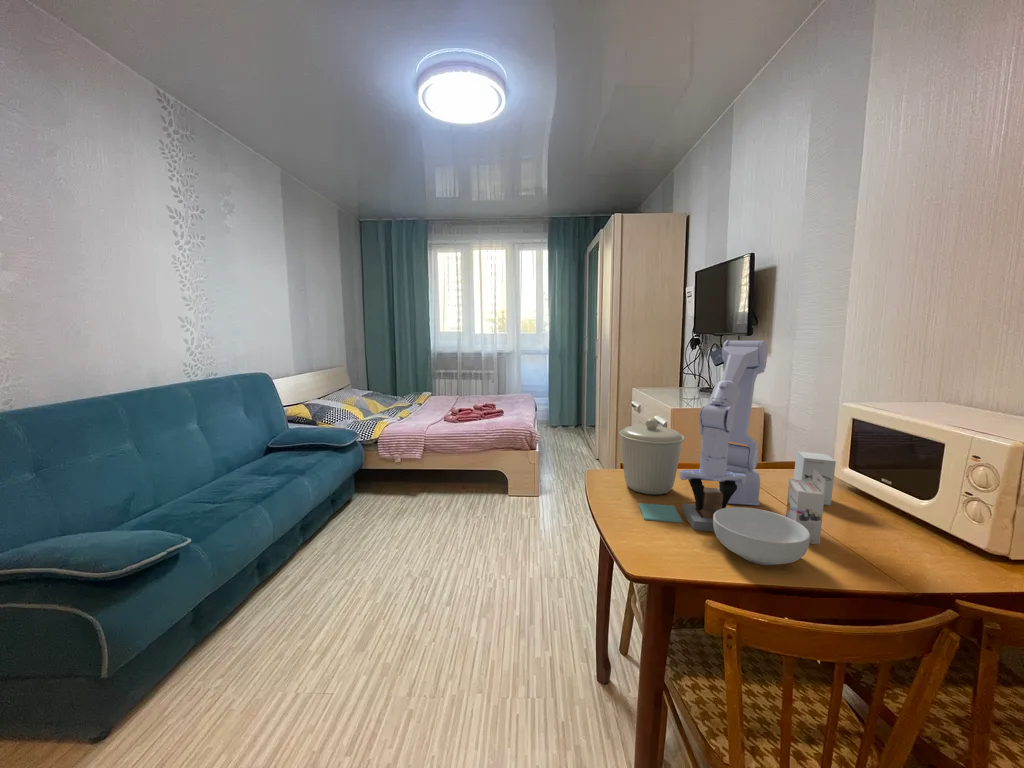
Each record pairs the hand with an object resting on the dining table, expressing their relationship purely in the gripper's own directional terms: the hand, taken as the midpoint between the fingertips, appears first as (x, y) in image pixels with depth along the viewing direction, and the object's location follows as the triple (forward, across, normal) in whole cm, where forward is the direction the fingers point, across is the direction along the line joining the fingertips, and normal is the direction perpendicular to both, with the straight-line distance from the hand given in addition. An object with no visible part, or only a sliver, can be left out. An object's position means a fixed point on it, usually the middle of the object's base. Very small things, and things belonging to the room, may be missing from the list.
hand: (710, 509), depth 98 cm
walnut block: (+3, 0, 0) cm, 3 cm away
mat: (+3, -11, +3) cm, 12 cm away
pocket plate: (+3, 0, 0) cm, 3 cm away
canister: (+3, -11, +20) cm, 23 cm away
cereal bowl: (+3, +5, -14) cm, 15 cm away
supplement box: (+3, +33, +20) cm, 39 cm away
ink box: (+3, +19, -3) cm, 20 cm away
